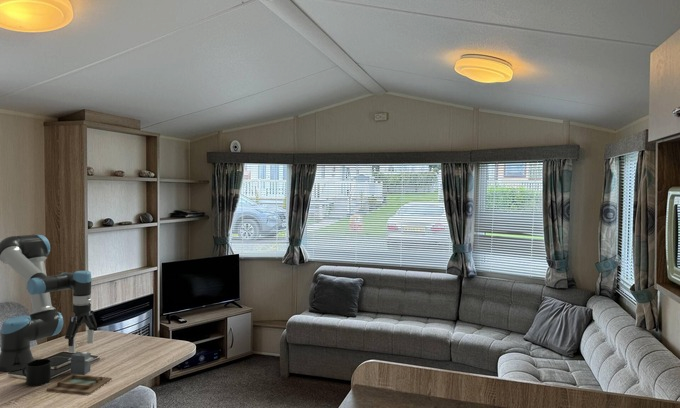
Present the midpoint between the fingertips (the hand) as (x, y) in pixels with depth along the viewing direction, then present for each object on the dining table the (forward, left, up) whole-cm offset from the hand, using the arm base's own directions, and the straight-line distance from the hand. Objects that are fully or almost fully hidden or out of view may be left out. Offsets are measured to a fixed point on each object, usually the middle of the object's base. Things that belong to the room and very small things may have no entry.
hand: (81, 347), depth 227 cm
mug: (-12, -14, -12) cm, 22 cm away
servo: (0, 0, -12) cm, 12 cm away
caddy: (+9, -13, -12) cm, 20 cm away
